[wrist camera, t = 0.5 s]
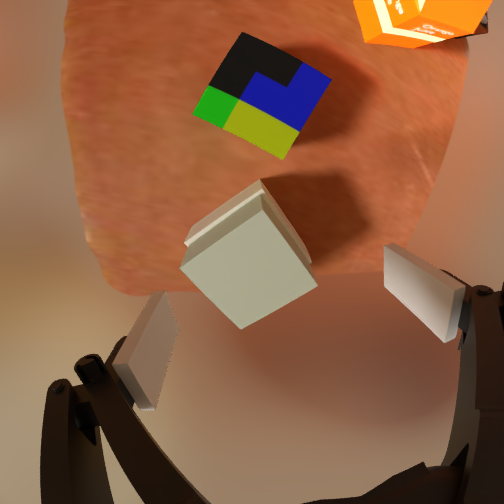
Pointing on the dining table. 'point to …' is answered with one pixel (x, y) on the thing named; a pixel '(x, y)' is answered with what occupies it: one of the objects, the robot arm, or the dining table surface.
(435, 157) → the dining table surface
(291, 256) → the tower top
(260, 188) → the tower base
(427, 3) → the orange juice
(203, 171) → the dining table surface
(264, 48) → the puzzle toy
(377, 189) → the dining table surface
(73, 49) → the dining table surface
